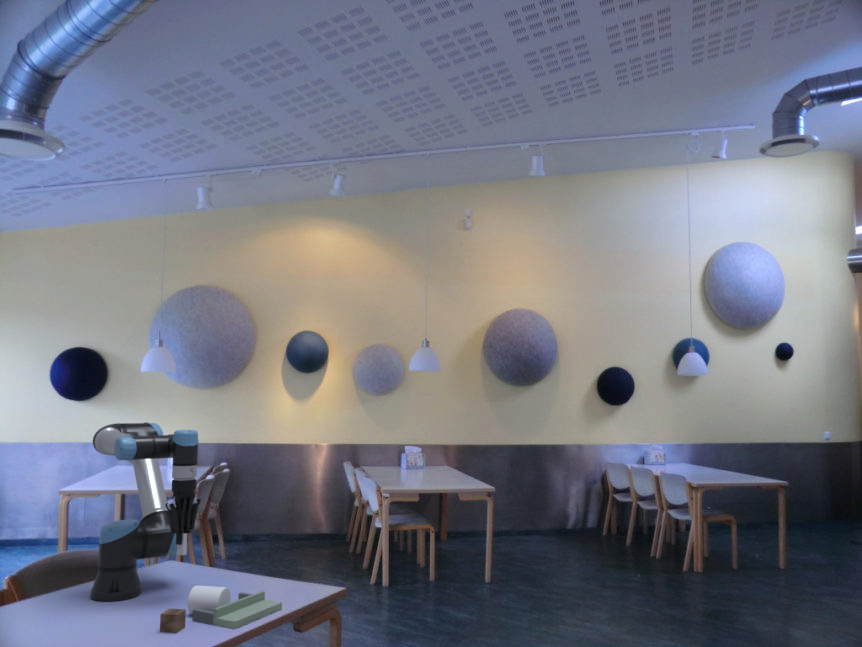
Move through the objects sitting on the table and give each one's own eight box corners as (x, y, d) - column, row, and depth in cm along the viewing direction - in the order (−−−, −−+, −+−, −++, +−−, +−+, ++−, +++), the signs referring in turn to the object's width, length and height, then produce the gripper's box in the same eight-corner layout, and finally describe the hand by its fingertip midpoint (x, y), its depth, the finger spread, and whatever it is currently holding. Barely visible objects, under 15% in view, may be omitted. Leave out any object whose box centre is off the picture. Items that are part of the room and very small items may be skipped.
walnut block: (159, 632, 201) (160, 613, 201) (168, 626, 206) (169, 608, 206) (176, 633, 200) (177, 614, 201) (185, 627, 205) (185, 609, 206)
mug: (217, 619, 212) (218, 591, 213) (186, 616, 214) (187, 589, 215) (236, 607, 224) (237, 581, 225) (206, 605, 226) (207, 579, 227)
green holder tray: (192, 620, 211) (193, 604, 211) (241, 601, 230) (242, 587, 230) (234, 629, 204) (235, 612, 204) (281, 609, 222) (282, 594, 223)
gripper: (177, 481, 223) (174, 559, 221) (208, 477, 235) (205, 551, 233) (159, 480, 227) (156, 557, 224) (190, 476, 238) (188, 549, 236)
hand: (181, 554), depth 229 cm, fingers closed
